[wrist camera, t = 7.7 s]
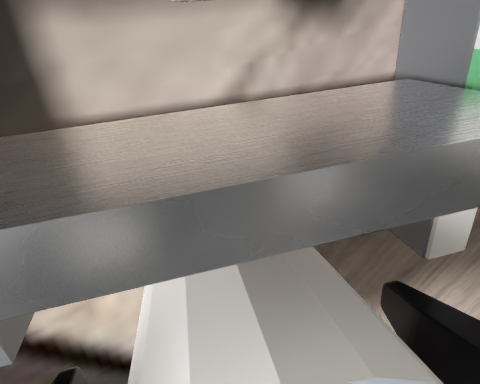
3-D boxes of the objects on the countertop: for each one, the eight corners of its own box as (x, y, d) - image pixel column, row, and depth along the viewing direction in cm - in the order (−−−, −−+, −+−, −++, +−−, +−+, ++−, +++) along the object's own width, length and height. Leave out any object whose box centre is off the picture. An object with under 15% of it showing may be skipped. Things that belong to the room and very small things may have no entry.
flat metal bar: (480, 68, 9) (720, 93, 5) (469, 109, 10) (679, 159, 6) (-43, 143, 7) (-302, 287, 3) (-17, 192, 7) (-205, 368, 3)
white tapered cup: (336, 191, 11) (541, 369, 5) (283, 327, 14) (381, 549, 8) (140, 167, 9) (114, 413, 3) (122, 332, 12) (89, 638, 6)
